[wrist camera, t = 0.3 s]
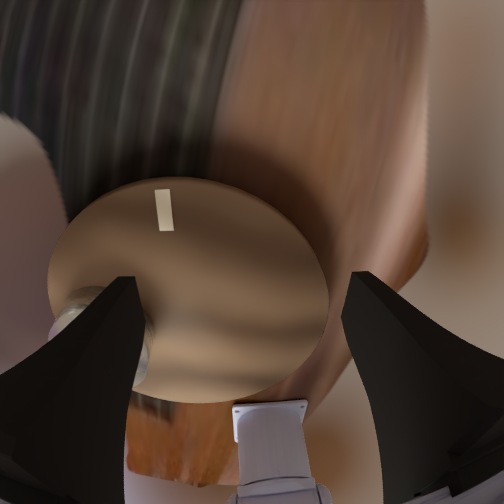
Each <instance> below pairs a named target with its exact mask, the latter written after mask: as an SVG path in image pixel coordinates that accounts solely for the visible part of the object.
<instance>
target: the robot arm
mask: <svg viewBox="0 0 504 504" xmlns="http://www.w3.org/2000/svg"><path fill="white" fill-rule="evenodd" d="M341 319H342V324H343V328H344V332H345V336H346V340H347V343H348V346H349V348H350V351H351V354H352V356H353V359H354V361H355V364H356V366H357V369H358V372H359V374H360V377H361V379H362V382H363V385H364V387H365V390H366V393H367V396H368V399H369V402H370V406H371V410H372V415H373V419H374V423H375V429H376V434H377V440H378V445H379V452H380V459H381V468H382V479H383V496H384V497H383V498H384V499H383V500H384V504H504V359H502V358H500V357H497V356H495V355H493V354H490V353H488V352H486V351H484V350H482V349H480V348H478V347H476V346H474V345H472V344H470V343H468V342H466V341H465V340H463V339H461V338H459V337H458V336H456V335H454V334H453V333H451V332H450V331H448V330H446V329H445V328H443V327H442V326H440V325H439V324H437V323H436V322H434V321H433V320H432V319H430V318H429V317H427V316H426V315H425V314H423V313H422V312H421V311H419V310H418V309H417V308H415V307H414V306H413V305H411V304H410V303H409V302H407V301H406V300H405V299H404V298H402V297H401V296H400V295H399V294H397V293H396V292H395V291H394V290H392V289H391V288H390V287H389V286H387V285H386V284H385V283H384V282H382V281H381V280H380V279H378V278H377V277H376V276H374V275H373V274H372V273H370V272H369V271H360V272H352V274H351V278H350V283H349V287H348V291H347V295H346V299H345V303H344V307H343V311H342V315H341ZM145 326H146V320H145V316H144V312H143V308H142V304H141V300H140V296H139V292H138V287H137V283H136V278H135V276H118V277H117V278H116V279H115V280H113V281H112V282H111V283H110V284H109V285H108V286H107V287H106V288H105V289H104V290H103V291H102V292H101V293H100V294H99V295H98V296H97V297H96V298H95V299H94V300H93V301H92V302H91V303H90V304H89V305H88V306H87V307H86V308H85V309H84V310H83V311H82V312H81V313H80V314H79V315H78V316H77V317H76V318H75V319H74V320H72V321H71V322H70V323H69V324H68V325H67V326H66V327H65V328H64V329H63V330H62V331H61V332H59V333H58V334H57V335H56V336H55V337H54V338H52V339H51V340H50V341H49V342H47V343H46V344H45V345H44V346H42V347H41V348H40V349H39V350H38V351H36V352H35V353H33V354H32V355H30V356H29V357H27V358H26V359H24V360H23V361H21V362H20V363H18V364H17V365H15V366H14V367H12V368H11V369H9V370H8V371H6V372H4V373H3V374H1V375H0V504H125V500H124V443H125V442H124V441H125V429H126V419H127V411H128V405H129V400H130V396H131V392H132V388H133V384H134V380H135V376H136V372H137V368H138V364H139V360H140V356H141V352H142V348H143V341H144V334H145ZM307 405H308V402H307V400H294V401H283V402H270V403H253V404H235V405H233V406H232V413H233V426H234V438H235V442H238V454H239V471H240V486H238V487H237V488H238V489H237V490H238V494H232V495H231V497H230V498H229V499H228V500H227V502H226V504H333V503H332V499H331V495H330V492H329V490H328V488H327V487H325V486H323V484H320V483H319V484H316V485H315V480H314V478H313V477H312V478H311V473H310V467H309V462H308V456H307V451H306V445H305V440H304V434H303V429H302V422H303V418H304V415H305V412H306V408H307Z"/></svg>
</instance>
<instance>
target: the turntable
mask: <svg viewBox="0 0 504 504" xmlns="http://www.w3.org/2000/svg"><path fill="white" fill-rule="evenodd" d="M118 276H135V278H136V283H137V287H138V292H139V296H140V300H141V304H142V308H143V309H144V310H145V311H146V312H147V314H148V315H149V317H150V319H151V321H152V323H153V326H154V340H153V344H152V349H151V354H150V359H149V364H148V369H147V374H146V377H145V379H144V380H143V381H142V382H141V383H140V384H138V385H136V386H134V387H133V388H132V390H134V391H136V392H139V393H141V394H145V395H148V396H151V397H155V398H159V399H164V400H169V401H176V402H185V403H214V402H222V401H229V400H234V399H239V398H243V397H246V396H249V395H253V394H255V393H258V392H260V391H263V390H265V389H268V388H270V387H271V386H273V385H275V384H277V383H279V382H281V381H282V380H284V379H285V378H287V377H288V376H290V375H291V374H292V373H293V372H294V371H296V370H297V369H298V368H299V367H300V366H301V365H302V364H303V363H304V362H305V361H306V360H307V359H308V358H309V357H310V355H311V354H312V352H313V351H314V349H315V348H316V346H317V345H318V343H319V341H320V339H321V337H322V335H323V332H324V329H325V326H326V323H327V318H328V310H329V296H328V288H327V284H326V279H325V276H324V273H323V271H322V269H321V266H320V264H319V261H318V259H317V257H316V255H315V252H314V250H313V249H312V247H311V246H310V244H309V243H308V241H307V239H306V238H305V236H304V235H303V234H302V233H301V232H300V230H299V229H298V228H297V227H296V226H295V225H294V224H293V223H292V221H290V220H289V219H288V218H287V217H286V216H284V215H283V214H282V213H281V212H280V211H278V210H277V209H276V208H275V207H273V206H271V205H270V204H268V203H267V202H265V201H263V200H262V199H260V198H258V197H257V196H255V195H252V194H250V193H248V192H246V191H243V190H241V189H239V188H237V187H234V186H230V185H227V184H223V183H220V182H216V181H213V180H207V179H200V178H193V177H159V178H151V179H144V180H140V181H136V182H133V183H129V184H126V185H122V186H120V187H118V188H116V189H114V190H112V191H109V192H107V193H105V194H103V195H102V196H100V197H99V198H97V199H96V200H94V201H93V202H91V203H90V204H89V205H88V206H87V207H85V208H84V209H83V210H82V211H81V212H80V213H79V214H78V215H77V216H76V217H75V218H74V219H73V221H72V222H71V223H70V224H69V225H68V227H67V228H66V229H65V231H64V232H63V234H62V235H61V236H60V238H59V240H58V242H57V244H56V246H55V248H54V250H53V253H52V257H51V260H50V264H49V270H48V295H49V299H50V304H51V309H52V311H53V314H54V316H55V319H56V318H57V316H58V314H59V313H60V311H61V309H62V307H63V305H64V303H65V301H66V300H67V298H68V296H69V295H70V294H71V293H72V292H73V291H75V290H77V289H79V288H82V287H86V286H102V287H107V286H108V285H109V284H110V283H111V282H112V281H113V280H115V279H116V278H117V277H118Z"/></svg>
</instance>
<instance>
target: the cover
mask: <svg viewBox="0 0 504 504" xmlns="http://www.w3.org/2000/svg"><path fill="white" fill-rule="evenodd" d="M105 288H106V287H102V286H86V287H82V288H79V289H77V290H75V291H73V292H72V293H71V294H70V295H69V296H68V298H67V300H66V301H65V303H64V305H63V307H62V309H61V311H60V313H59V314H58V316H57V318H56V320H55V322H54V324H53V326H52V328H51V330H50V332H49V336H48V342H49V341H50V340H51V339H52V338H54V337H55V336H56V335H57V334H58V333H59V332H61V331H62V330H63V329H64V328H65V327H66V326H67V325H68V324H69V323H70V322H71V321H72V320H74V319H75V318H76V317H77V316H78V315H79V314H80V313H81V312H82V311H83V310H84V309H85V308H86V307H87V306H88V305H89V304H90V303H91V302H92V301H93V300H94V299H95V298H96V297H97V296H98V295H99V294H100V293H101V292H102V291H103V290H104V289H105ZM143 312H144V316H145V320H146V326H145V334H144V341H143V348H142V352H141V356H140V360H139V364H138V368H137V372H136V376H135V380H134V384H133V387H134V386H136V385H138V384H140V383H141V382H142V381H143V380H144V379H145V377H146V374H147V369H148V364H149V359H150V354H151V349H152V344H153V340H154V326H153V323H152V321H151V319H150V317H149V315H148V314H147V312H146V311H145V310H144V309H143Z"/></svg>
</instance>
